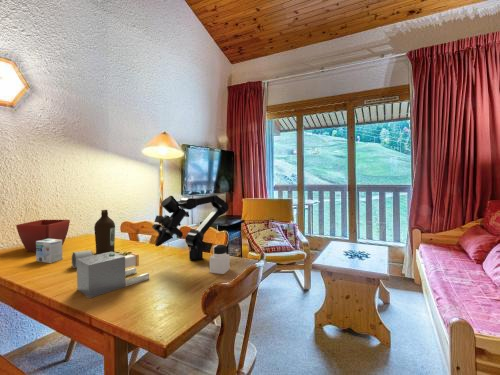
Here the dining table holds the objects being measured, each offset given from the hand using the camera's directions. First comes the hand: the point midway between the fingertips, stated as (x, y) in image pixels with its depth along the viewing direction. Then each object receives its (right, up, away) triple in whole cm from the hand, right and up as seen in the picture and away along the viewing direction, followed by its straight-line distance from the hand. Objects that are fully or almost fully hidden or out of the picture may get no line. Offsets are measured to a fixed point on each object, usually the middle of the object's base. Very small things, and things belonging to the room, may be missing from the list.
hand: (156, 245), depth 119 cm
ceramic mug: (-40, -12, +9) cm, 43 cm away
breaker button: (-10, -7, -12) cm, 17 cm away
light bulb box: (-63, -12, +17) cm, 66 cm away
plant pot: (-83, -11, +40) cm, 93 cm away
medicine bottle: (+30, -12, 0) cm, 32 cm away
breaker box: (-12, -12, -14) cm, 22 cm away
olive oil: (-42, -11, +32) cm, 54 cm away
